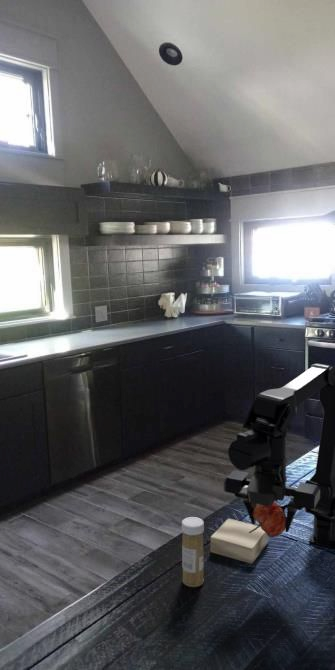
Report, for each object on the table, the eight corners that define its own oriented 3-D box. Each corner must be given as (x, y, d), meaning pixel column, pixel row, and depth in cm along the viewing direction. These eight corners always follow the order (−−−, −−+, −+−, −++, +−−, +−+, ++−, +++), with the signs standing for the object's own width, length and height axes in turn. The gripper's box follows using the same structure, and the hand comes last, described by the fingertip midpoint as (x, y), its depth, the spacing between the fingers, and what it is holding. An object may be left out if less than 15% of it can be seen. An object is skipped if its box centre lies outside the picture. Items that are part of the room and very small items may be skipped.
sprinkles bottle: (208, 583, 117) (208, 522, 115) (190, 590, 115) (190, 529, 112) (195, 572, 121) (195, 513, 119) (177, 579, 118) (177, 519, 116)
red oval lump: (257, 554, 114) (299, 528, 112) (236, 523, 115) (277, 497, 112) (260, 539, 121) (299, 515, 119) (240, 510, 122) (278, 485, 120)
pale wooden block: (228, 533, 138) (228, 518, 137) (267, 544, 133) (268, 528, 132) (210, 553, 129) (210, 536, 128) (251, 565, 124) (252, 548, 124)
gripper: (213, 461, 112) (213, 535, 114) (308, 478, 103) (306, 558, 106) (233, 443, 121) (233, 511, 124) (321, 457, 113) (319, 530, 115)
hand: (270, 527), depth 117 cm, fingers closed on red oval lump, 7 cm apart
